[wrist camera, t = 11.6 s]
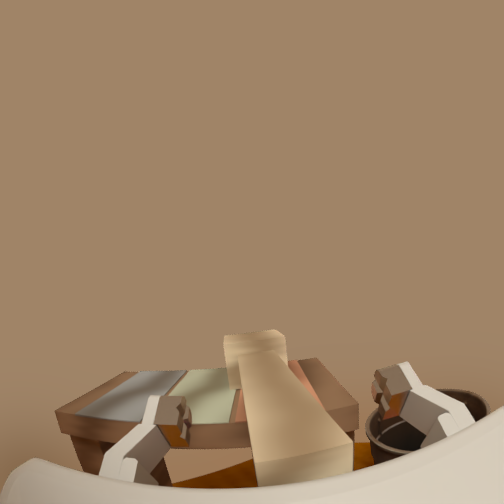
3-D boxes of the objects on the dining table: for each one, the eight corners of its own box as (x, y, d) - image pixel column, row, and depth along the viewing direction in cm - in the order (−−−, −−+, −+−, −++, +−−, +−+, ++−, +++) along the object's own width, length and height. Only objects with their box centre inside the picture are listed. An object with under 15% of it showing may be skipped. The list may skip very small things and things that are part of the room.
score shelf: (145, 584, 12) (54, 409, 16) (170, 523, 26) (124, 370, 30) (343, 582, 12) (358, 402, 16) (323, 516, 26) (316, 356, 30)
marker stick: (234, 526, 6) (214, 439, 7) (229, 374, 27) (224, 335, 27) (376, 494, 7) (382, 405, 7) (279, 367, 27) (275, 329, 28)
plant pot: (433, 551, 12) (468, 460, 14) (336, 518, 25) (337, 434, 27) (480, 476, 21) (500, 388, 23) (398, 464, 34) (404, 385, 36)
